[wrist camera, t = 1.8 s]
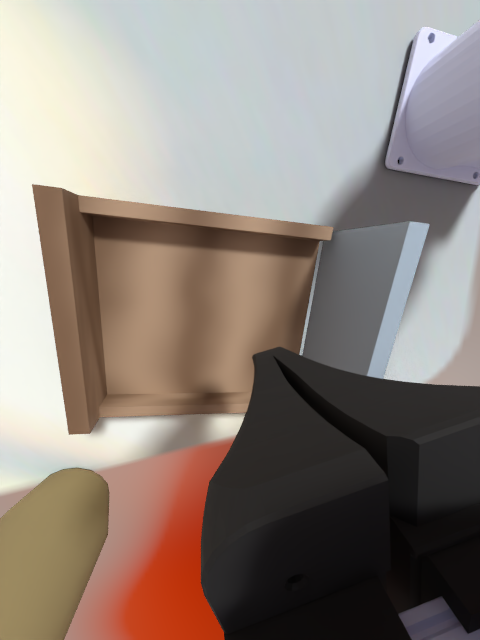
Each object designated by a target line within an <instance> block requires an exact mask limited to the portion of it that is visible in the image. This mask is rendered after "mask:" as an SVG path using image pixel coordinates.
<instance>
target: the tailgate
mask: <svg viewBox="0 0 480 640" xmlns="http://www.w3.org/2000/svg"><path fill="white" fill-rule="evenodd" d="M429 225H430V224H426V223H419V222H412V221H408V222H401V223H393V224H386V225H378V226H371V227H363V228H356V229H348V230H341V231H333V232H332V237H331V240H328V241H323V247H322V252H321V257H320V263H319V268H318V274H317V279H316V285H315V290H314V296H313V301H312V306H311V312H310V317H309V323H308V328H307V334H306V339H305V344H304V350H303V355H302V356H303V357H306V358H308V359H311V360H313V361H316V362H318V363H321V364H324V365H327V366H330V367H333V368H336V369H340V370H344V371H348V372H352V373H356V374H360V375H365V376H370V377H375V378H381V379H383V377H384V374H385V371H386V367H387V364H388V361H389V358H390V354H391V351H392V348H393V344H394V341H395V338H396V334H397V331H398V328H399V324H400V321H401V318H402V315H403V311H404V308H405V305H406V301H407V298H408V295H409V291H410V288H411V285H412V281H413V278H414V275H415V272H416V268H417V265H418V262H419V258H420V255H421V252H422V248H423V245H424V242H425V239H426V235H427V232H428V229H429Z"/></svg>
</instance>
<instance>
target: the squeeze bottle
mask: <svg viewBox="0 0 480 640" xmlns="http://www.w3.org/2000/svg"><path fill="white" fill-rule="evenodd" d="M108 513H109V489H108V484H107V482H106V481H105V480H104V479H103V478H102V477H101V476H100V475H98V474H96V473H94V472H93V471H91V470H85V469H79V468H73V469H63V470H60V471H58V472H56V473H53V474H51V475H49V476H48V477H47V478H46V479H45V480H44V481H42V482H41V483H40V484H39V485H38V486H37V487H35V488H34V489H33V490H32V491H31V492H30V493H28V494H27V495H26V496H25V497H24V498H23V499H21V500H20V501H19V502H18V503H17V504H16V505H14V506H13V507H12V508H11V509H10V510H9V511H8V512H7V513H6V514H5V515H3V516H2V517H1V518H0V640H64V638H65V636H66V633H67V631H68V629H69V626H70V624H71V622H72V619H73V617H74V614H75V612H76V610H77V607H78V605H79V602H80V600H81V598H82V595H83V593H84V590H85V588H86V586H87V583H88V581H89V578H90V576H91V574H92V571H93V569H94V566H95V564H96V561H97V559H98V557H99V554H100V552H101V550H102V547H103V545H104V543H105V540H106V538H107V535H108V515H109V514H108Z"/></svg>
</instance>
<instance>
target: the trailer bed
mask: <svg viewBox="0 0 480 640" xmlns="http://www.w3.org/2000/svg"><path fill="white" fill-rule="evenodd" d="M32 187H33V194H34V201H35V208H36V214H37V221H38V228H39V235H40V242H41V248H42V255H43V262H44V269H45V275H46V282H47V289H48V296H49V303H50V309H51V316H52V323H53V330H54V337H55V343H56V350H57V357H58V364H59V370H60V377H61V384H62V391H63V398H64V404H65V411H66V418H67V425H68V432H69V434H90V433H91V431H92V429H93V428H94V426H95V424H96V423H97V421H98V419H99V418H100V417H121V416H152V415H182V414H212V413H243V412H247V409H248V405H249V402H250V398H251V394H252V388H253V382H254V364H253V359H252V356H253V355H254V354H256V353H259V352H263V351H266V350H270V349H273V348H276V347H282V348H285V349H287V350H289V351H292V352H294V353H296V354H299V353H300V347H301V342H302V336H303V331H304V325H305V320H306V314H307V308H308V303H309V297H310V292H311V286H312V281H313V275H314V269H315V264H316V258H317V253H318V247H319V242H320V241H328V240H331V237H332V232H333V227H328V226H320V225H312V224H304V223H296V222H288V221H280V220H272V219H264V218H256V217H248V216H240V215H232V214H224V213H216V212H208V211H200V210H192V209H184V208H176V207H168V206H160V205H152V204H144V203H136V202H128V201H120V200H112V199H104V198H96V197H88V196H80V195H76V194H74V193H72V192H69V191H67V190H65V189H62V188H57V187H49V186H41V185H33V184H32Z"/></svg>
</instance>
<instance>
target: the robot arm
mask: <svg viewBox="0 0 480 640" xmlns="http://www.w3.org/2000/svg"><path fill="white" fill-rule="evenodd" d="M428 39H429V42H428ZM398 159H399V164H398ZM385 165H386V167H387V168H388V169H392V170H398V171H403V172H409V173H414V174H420V175H425V176H430V177H436V178H441V179H447V180H452V181H457V182H463V183H468V184H474V185H480V20H478V21H477V22H476V23H475V24H473V25H472V26H471V27H470V28H469V29H467V30H466V31H465V32H464V33H463V34H461V35H460V36H459V37H457V36H454V35H451V34H448V33H445V32H442V31H439V30H436V29H432V28H429V27H423V28H421V29H420V30H419V31H418V32H417V33H416V35H415V37H414V40H413V45H412V49H411V53H410V57H409V62H408V66H407V70H406V75H405V79H404V83H403V87H402V92H401V96H400V100H399V104H398V109H397V113H396V117H395V121H394V126H393V130H392V134H391V139H390V143H389V147H388V151H387V156H386V160H385ZM252 359H253V364H254V382H253V388H252V394H251V398H250V402H249V405H248V409H247V412H246V414H245V417H244V420H243V423H242V425H241V427H240V430H239V432H238V434H237V436H236V438H235V440H234V442H233V444H232V446H231V448H230V450H229V452H228V453H227V455H226V457H225V458H224V460H223V461H222V463H221V465H220V466H219V468H218V469H217V471H216V473H215V474H214V476H213V477H212V479H211V480H210V482H209V487H208V492H207V497H206V502H205V510H204V516H203V526H202V537H201V584H202V588H203V592H204V595H205V597H206V599H207V601H208V603H209V605H210V607H211V609H212V611H213V612H214V614H215V616H216V618H217V620H218V622H219V624H220V625H221V627H222V629H223V631H224V637H225V640H480V387H477V386H453V385H432V384H421V383H411V382H402V381H394V380H387V379H381V378H375V377H370V376H365V375H360V374H356V373H352V372H348V371H344V370H340V369H336V368H333V367H330V366H327V365H324V364H321V363H318V362H316V361H313V360H311V359H308V358H306V357H303V356H301V355H299V354H296V353H294V352H292V351H289V350H287V349H285V348H282V347H276V348H273V349H270V350H266V351H263V352H259V353H256V354H254V355H253V356H252Z"/></svg>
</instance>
